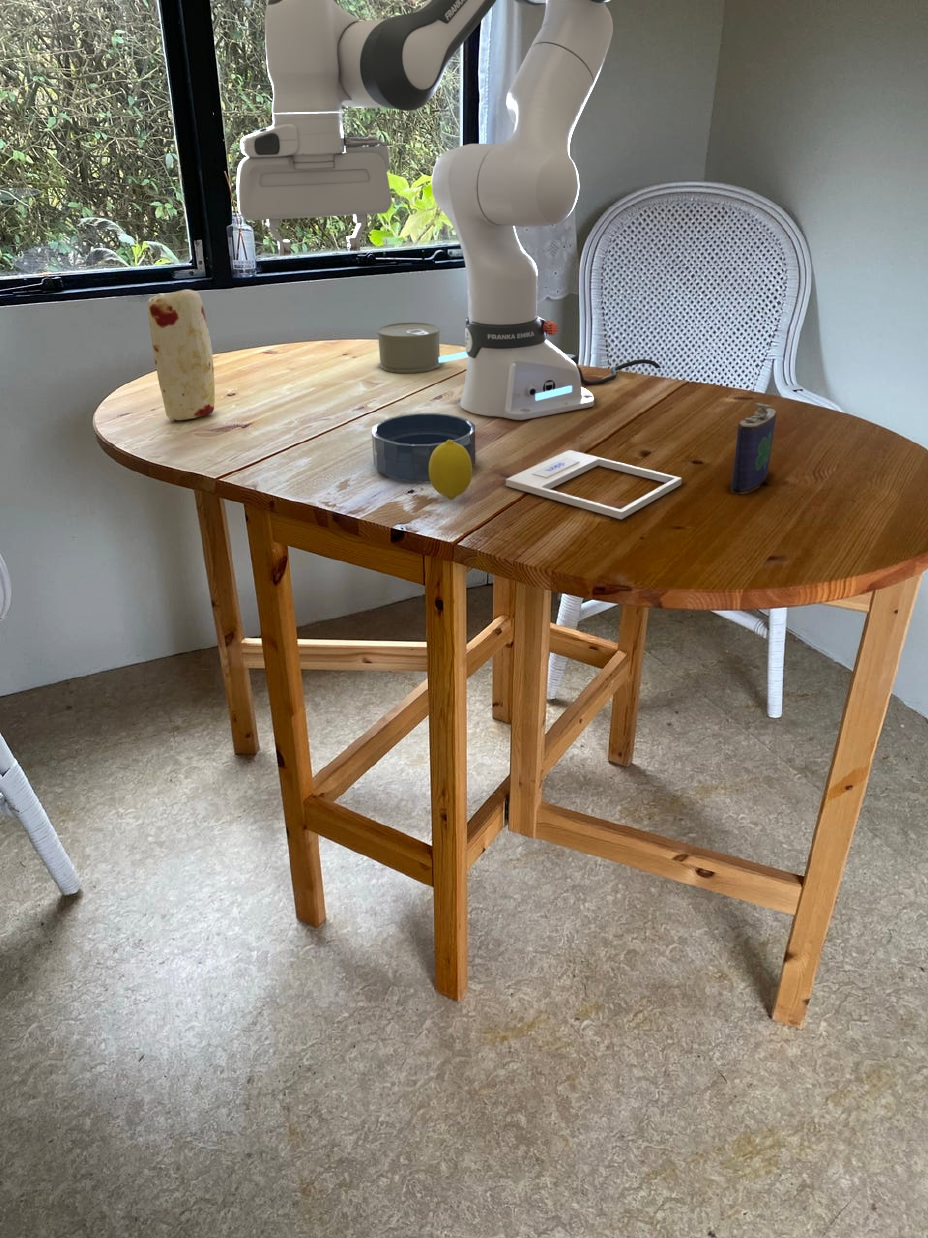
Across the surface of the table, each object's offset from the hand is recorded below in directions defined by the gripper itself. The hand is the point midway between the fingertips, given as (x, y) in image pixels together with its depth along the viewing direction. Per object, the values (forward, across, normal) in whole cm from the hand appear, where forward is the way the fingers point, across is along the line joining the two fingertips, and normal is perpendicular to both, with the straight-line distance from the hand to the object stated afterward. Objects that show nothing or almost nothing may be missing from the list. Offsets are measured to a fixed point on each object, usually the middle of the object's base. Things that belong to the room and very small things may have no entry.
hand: (319, 252), depth 125 cm
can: (+27, -22, -41) cm, 54 cm away
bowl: (+27, -10, +14) cm, 32 cm away
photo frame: (+27, -29, +29) cm, 49 cm away
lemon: (+27, -10, +27) cm, 40 cm away
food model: (+27, +20, -22) cm, 40 cm away
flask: (+27, -49, +35) cm, 66 cm away
